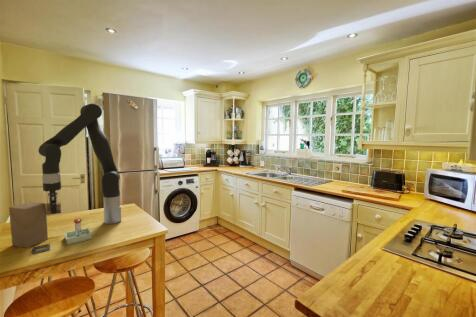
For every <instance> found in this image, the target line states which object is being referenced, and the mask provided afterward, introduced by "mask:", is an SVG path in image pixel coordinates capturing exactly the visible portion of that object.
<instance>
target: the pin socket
mask: <svg viewBox="0 0 476 317" xmlns="http://www.w3.org/2000/svg"><path fill="white" fill-rule="evenodd" d="M47 251H48V252H49V251H51V243H46V244H42V245H37V246H33V249H32V254H33V255H34V254H38V253H39V254H40V253H44V252H47Z"/></svg>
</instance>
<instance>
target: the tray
mask: <svg viewBox="0 0 476 317" xmlns="http://www.w3.org/2000/svg"><path fill="white" fill-rule="evenodd" d="M64 237H65V239H64V240H65V244H66V246H68V245H69V246H70V245H74V244H78V243H82V242H85V241H89V240H93V236H92V231H91V229H90V227H85V228H81V236H78V237H76V234H75V230H72V231H71V230H70V231H66V232H65V233H64Z"/></svg>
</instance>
